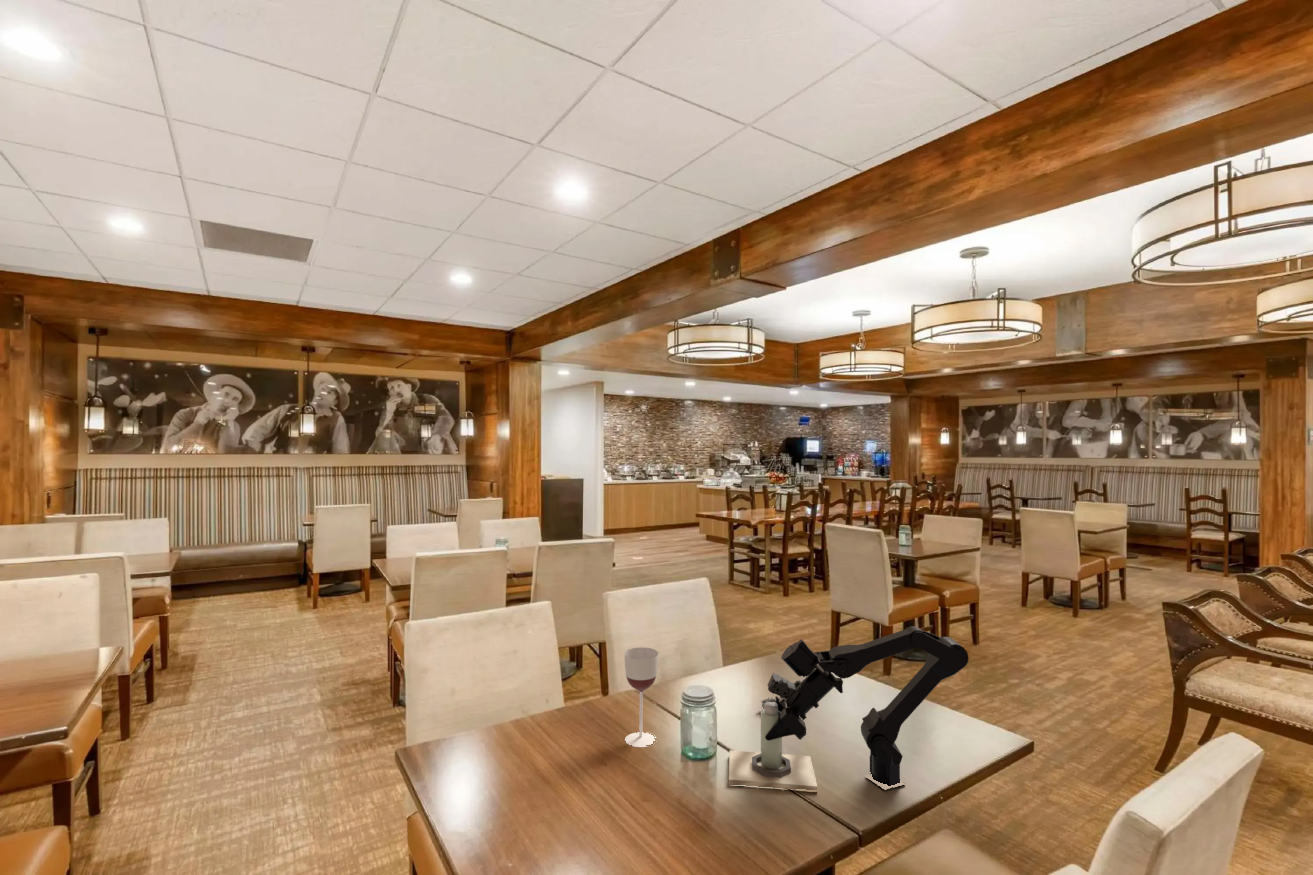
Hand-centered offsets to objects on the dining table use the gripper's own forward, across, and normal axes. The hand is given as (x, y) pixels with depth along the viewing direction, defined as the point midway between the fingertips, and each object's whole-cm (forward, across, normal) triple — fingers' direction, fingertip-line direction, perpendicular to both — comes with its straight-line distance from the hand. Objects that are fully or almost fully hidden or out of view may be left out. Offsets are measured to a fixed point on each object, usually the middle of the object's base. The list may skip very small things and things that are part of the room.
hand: (765, 733), depth 145 cm
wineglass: (+30, -13, -17) cm, 36 cm away
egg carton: (+3, -35, +11) cm, 37 cm away
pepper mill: (+4, 0, +6) cm, 7 cm away
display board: (+6, 0, +8) cm, 9 cm away
